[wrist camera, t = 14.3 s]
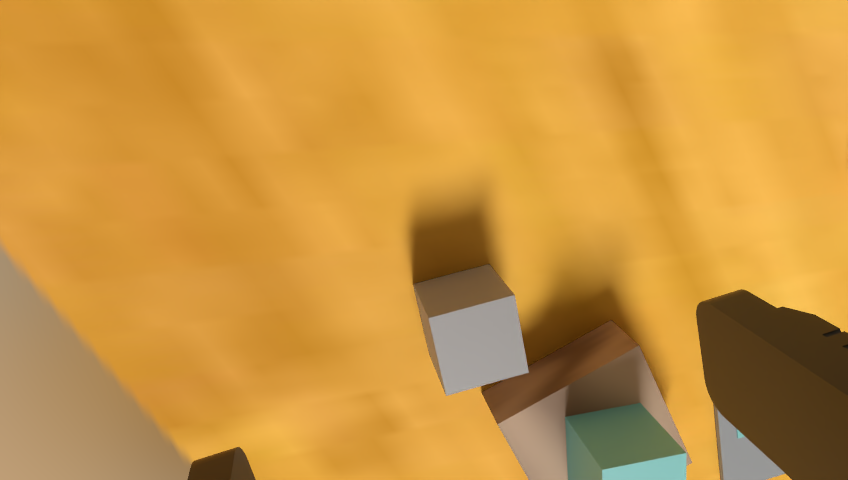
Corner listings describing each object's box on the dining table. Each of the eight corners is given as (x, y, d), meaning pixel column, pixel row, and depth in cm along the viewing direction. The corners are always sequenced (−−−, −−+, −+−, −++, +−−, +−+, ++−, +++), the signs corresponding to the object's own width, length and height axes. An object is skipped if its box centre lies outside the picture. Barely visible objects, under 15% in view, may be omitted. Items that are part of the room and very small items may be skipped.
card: (823, 327, 45) (829, 330, 44) (827, 455, 48) (833, 459, 47) (709, 360, 44) (714, 364, 43) (721, 488, 47) (725, 493, 47)
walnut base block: (608, 317, 42) (639, 345, 38) (659, 426, 45) (692, 462, 41) (480, 389, 42) (497, 424, 38) (538, 494, 45) (560, 536, 41)
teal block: (640, 402, 40) (686, 452, 35) (640, 469, 41) (685, 526, 36) (565, 416, 39) (602, 469, 34) (568, 484, 40) (604, 544, 36)
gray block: (488, 263, 40) (514, 295, 35) (502, 333, 41) (528, 372, 36) (412, 283, 39) (428, 318, 34) (428, 353, 41) (446, 395, 36)
